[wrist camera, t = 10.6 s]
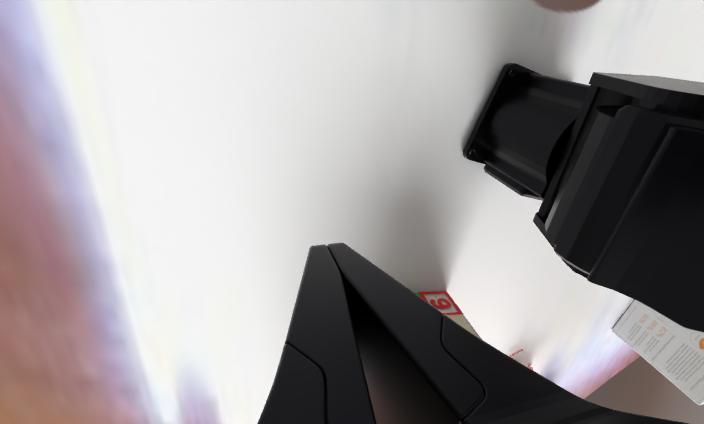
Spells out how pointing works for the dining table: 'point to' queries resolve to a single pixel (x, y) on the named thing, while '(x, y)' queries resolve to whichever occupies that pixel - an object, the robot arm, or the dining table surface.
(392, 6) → the dining table surface
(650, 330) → the small box
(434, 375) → the robot arm
